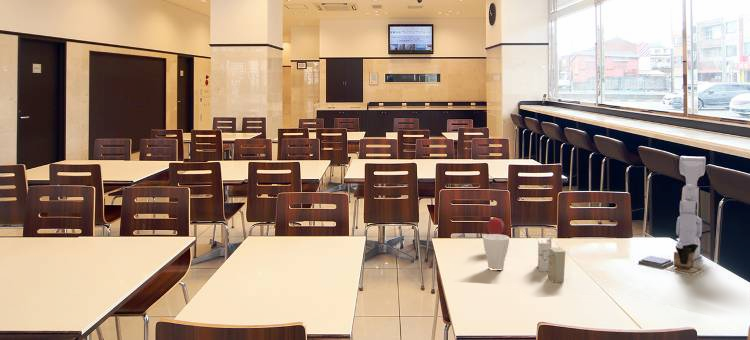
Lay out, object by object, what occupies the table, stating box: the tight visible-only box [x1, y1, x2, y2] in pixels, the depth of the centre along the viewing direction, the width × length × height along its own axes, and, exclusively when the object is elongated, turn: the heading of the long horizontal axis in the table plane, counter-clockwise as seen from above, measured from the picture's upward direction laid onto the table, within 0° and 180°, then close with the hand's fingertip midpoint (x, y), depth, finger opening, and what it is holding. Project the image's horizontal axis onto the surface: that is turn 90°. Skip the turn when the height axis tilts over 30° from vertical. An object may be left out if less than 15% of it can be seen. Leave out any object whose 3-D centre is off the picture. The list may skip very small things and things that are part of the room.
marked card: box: [665, 264, 706, 276], centre depth 249 cm, size 11×11×1 cm
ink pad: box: [638, 255, 674, 269], centre depth 257 cm, size 10×10×2 cm
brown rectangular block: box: [673, 250, 695, 269], centre depth 249 cm, size 4×6×6 cm, turn 41°
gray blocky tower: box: [537, 231, 552, 272], centre depth 251 cm, size 9×5×15 cm, turn 168°
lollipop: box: [486, 217, 505, 235], centre depth 281 cm, size 8×8×15 cm
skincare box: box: [547, 247, 566, 283], centre depth 236 cm, size 6×4×12 cm
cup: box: [482, 233, 510, 270], centre depth 251 cm, size 10×10×14 cm
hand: (685, 262), depth 248 cm, fingers closed on brown rectangular block, 4 cm apart
